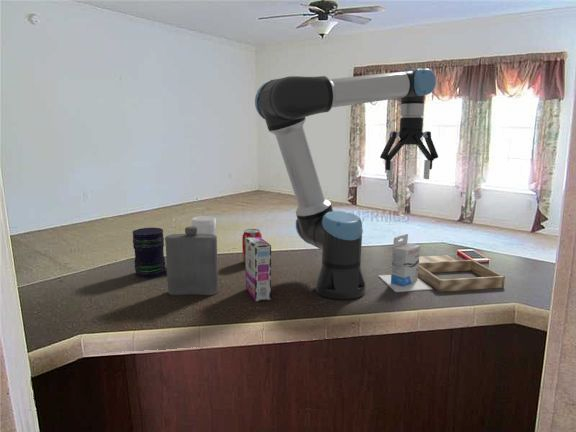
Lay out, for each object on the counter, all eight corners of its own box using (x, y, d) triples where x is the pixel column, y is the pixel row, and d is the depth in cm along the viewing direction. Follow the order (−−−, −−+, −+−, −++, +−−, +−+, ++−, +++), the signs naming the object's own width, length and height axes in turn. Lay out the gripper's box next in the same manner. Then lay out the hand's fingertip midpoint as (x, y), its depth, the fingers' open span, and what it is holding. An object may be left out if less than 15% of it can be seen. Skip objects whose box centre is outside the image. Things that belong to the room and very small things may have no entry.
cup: (191, 258, 166) (189, 216, 163) (215, 256, 169) (214, 215, 165) (194, 265, 158) (192, 221, 154) (219, 263, 160) (218, 220, 157)
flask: (220, 288, 136) (218, 225, 132) (217, 295, 130) (215, 229, 126) (171, 288, 136) (167, 225, 131) (166, 295, 130) (162, 229, 126)
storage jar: (146, 281, 142) (143, 236, 139) (129, 274, 148) (125, 231, 145) (171, 273, 150) (169, 230, 147) (154, 267, 155) (151, 226, 152)
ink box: (404, 287, 136) (406, 240, 133) (390, 282, 139) (392, 237, 136) (418, 280, 142) (421, 236, 139) (404, 276, 145) (407, 233, 142)
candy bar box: (272, 300, 127) (272, 245, 123) (255, 302, 125) (254, 246, 122) (260, 286, 137) (260, 235, 134) (245, 289, 135) (244, 237, 132)
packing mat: (395, 292, 133) (395, 290, 133) (378, 276, 146) (378, 275, 146) (432, 289, 135) (432, 288, 135) (412, 274, 148) (412, 273, 148)
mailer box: (439, 291, 133) (439, 280, 133) (394, 258, 166) (395, 249, 165) (503, 287, 137) (504, 276, 136) (447, 256, 169) (448, 247, 169)
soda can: (239, 264, 159) (239, 232, 156) (247, 258, 165) (246, 227, 163) (258, 266, 157) (257, 233, 154) (264, 260, 163) (264, 229, 161)
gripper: (440, 117, 155) (436, 177, 160) (372, 117, 151) (370, 178, 156) (451, 116, 148) (446, 179, 152) (380, 116, 144) (377, 181, 148)
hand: (408, 179), depth 154 cm, fingers open, 13 cm apart
